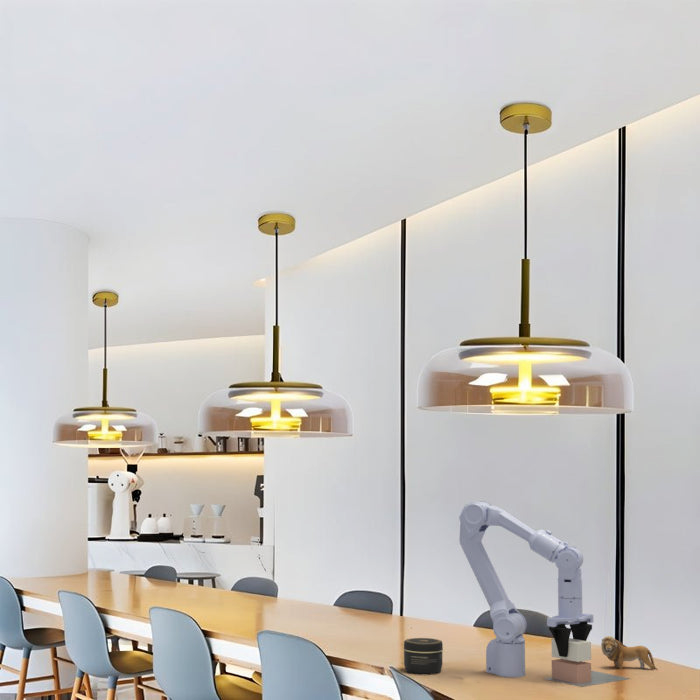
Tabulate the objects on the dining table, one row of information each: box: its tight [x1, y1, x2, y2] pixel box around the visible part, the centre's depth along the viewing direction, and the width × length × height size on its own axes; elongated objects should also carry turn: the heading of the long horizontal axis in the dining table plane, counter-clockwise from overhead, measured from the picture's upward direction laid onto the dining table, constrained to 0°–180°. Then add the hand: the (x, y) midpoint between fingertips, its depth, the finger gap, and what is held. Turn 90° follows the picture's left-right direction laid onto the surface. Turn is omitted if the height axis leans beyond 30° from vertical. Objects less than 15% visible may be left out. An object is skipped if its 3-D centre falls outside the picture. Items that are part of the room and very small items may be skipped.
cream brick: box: [551, 637, 592, 662], centre depth 241 cm, size 8×5×4 cm, turn 36°
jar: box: [403, 637, 444, 675], centre depth 254 cm, size 10×10×8 cm
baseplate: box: [542, 670, 632, 688], centre depth 242 cm, size 12×18×1 cm, turn 126°
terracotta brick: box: [551, 658, 592, 684], centre depth 240 cm, size 8×5×4 cm, turn 36°
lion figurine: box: [601, 636, 659, 671], centre depth 256 cm, size 15×5×9 cm, turn 94°
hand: (571, 655), depth 241 cm, fingers open, 5 cm apart
